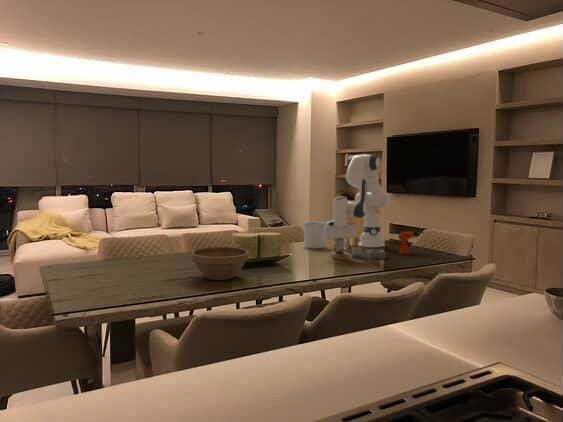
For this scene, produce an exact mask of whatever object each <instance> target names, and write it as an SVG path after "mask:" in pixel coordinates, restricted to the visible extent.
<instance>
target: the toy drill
mask: <svg viewBox="0 0 563 422" xmlns="http://www.w3.org/2000/svg"><path fill="white" fill-rule="evenodd" d="M424 233H425V232H424V231H420V232H417V231H411V230H410V231H401V232H400V233H399V234H398V239H399V240H400V243H401V244H400V246H401V247H400V249H399V250H398V254H400V255H405V254H406V255H407V254H408V255H409V254H410V255H411V250H409V248H408V247H409V245H410V242H409V240H410V239H412V238H414V237H416V236H418V235H421V234H424Z"/></svg>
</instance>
